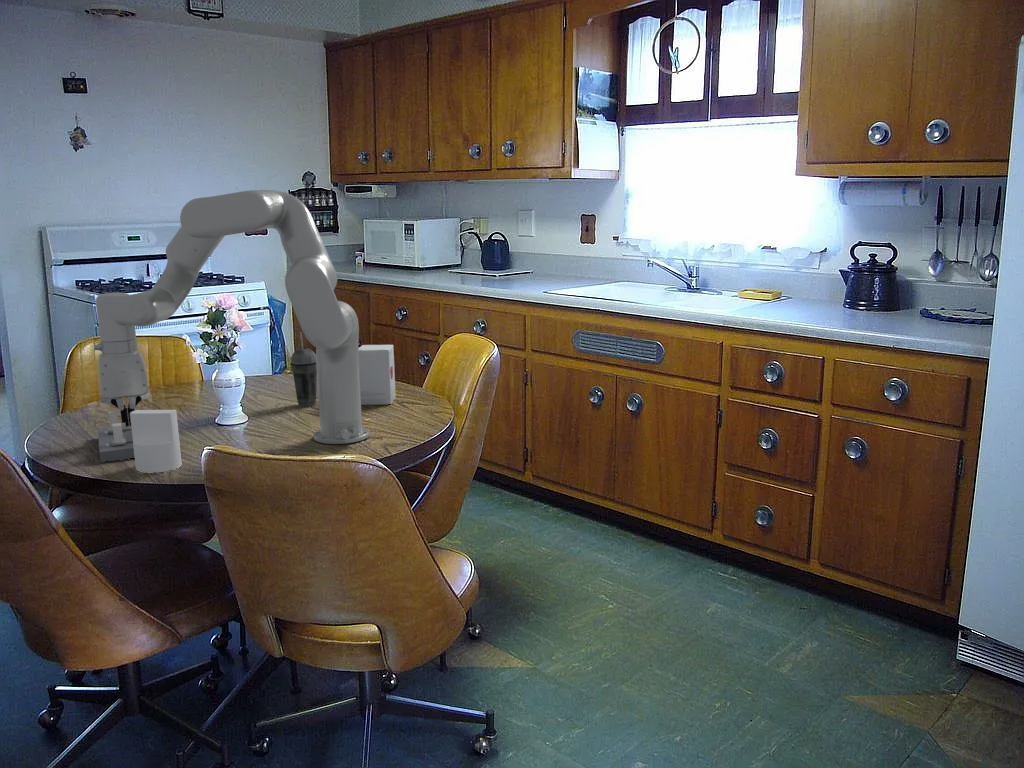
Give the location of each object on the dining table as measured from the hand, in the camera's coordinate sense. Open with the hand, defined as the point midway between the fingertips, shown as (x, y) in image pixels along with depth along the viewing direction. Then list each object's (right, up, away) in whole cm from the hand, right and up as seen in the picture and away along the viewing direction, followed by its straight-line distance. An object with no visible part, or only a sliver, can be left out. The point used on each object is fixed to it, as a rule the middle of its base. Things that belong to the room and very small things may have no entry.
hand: (129, 425), depth 207 cm
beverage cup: (+34, +4, +31) cm, 47 cm away
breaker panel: (+4, -4, -4) cm, 7 cm away
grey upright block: (+15, -8, -20) cm, 27 cm away
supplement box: (+53, +5, +35) cm, 63 cm away
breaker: (+3, -3, -12) cm, 12 cm away
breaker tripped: (-3, -1, -1) cm, 3 cm away
